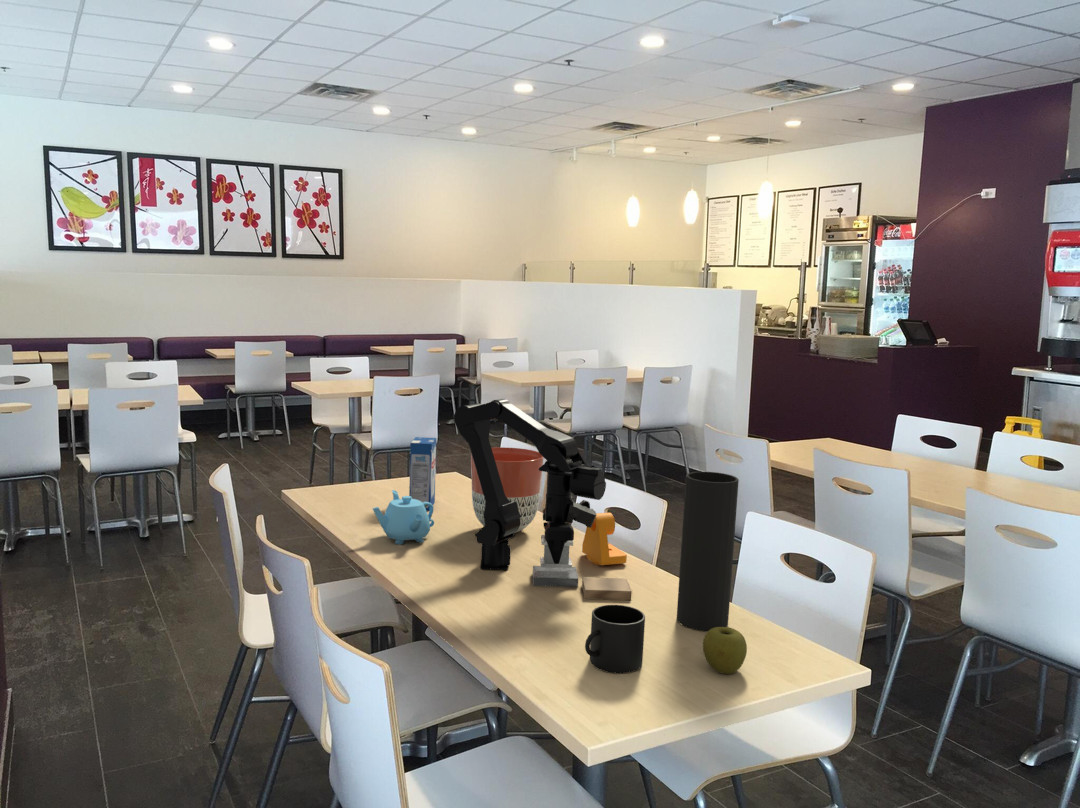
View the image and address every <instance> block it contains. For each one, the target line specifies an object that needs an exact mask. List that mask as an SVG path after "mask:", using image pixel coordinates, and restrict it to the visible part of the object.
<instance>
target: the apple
mask: <svg viewBox="0 0 1080 808" xmlns="http://www.w3.org/2000/svg"><path fill="white" fill-rule="evenodd" d="M702 640H703V641H702V651H703V655H704V658H705V660H706V663H708V665H709V666H710V667H711V668H712V669H713V670H714V671H716V672H717V673H719V674H724V675H731V674H735V673H736V672H738V670H740V668H741V667H742V665H743V664H744V662H745V659H746V657H747V650H748V647H747V645H748V644H747V640H746V638H745V637H744V635H743V633H741V632H740V631H738V630H737V629H735V628H732V627H729V626H727V627H715V628H712V629H710V630H709V631H706V633H705V635H704V636H703V639H702Z"/></svg>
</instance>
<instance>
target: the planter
mask: <svg viewBox="0 0 1080 808" xmlns="http://www.w3.org/2000/svg"><path fill="white" fill-rule="evenodd" d="M491 448H492V452H493V455H494V459H495V462H496V465H497V469H498V472H499V476H500V479H501V482H502V486H503V489H504V493H505V496H506V497H507V498H508V499H509V501H510V502H514V501H516V502H517V504H518V510H519V513H520V515H521V516H522V517H521V518H520V522H521V523H520V526H519V529H518V530H517V531H516V532H515V534H517V533H519V532H521V531H523V530H524V529H526V528H527V527H528V526H529V525H530V524H531V523H532V522H533V521H534V519H535V517H536V515H537V512H538V508H539V505H540V498H541V489H542V479H543V478H542V477H543V471H539V468H540V467H541V466H542V465H544V459H545V458H544V457H543V456H542V455H541V454H540V453H539V452H538V450H537V451H536V450H533V449H529V448H528V449H527V448H522V447H521V448H519V447H505V446H504V447H491ZM470 471H471V476H470V477H471V479H470V480H471V499H472V501H471V502H472V508H473V511H474V515H475V517H476V518H477V520H478V522H479V523H480V525H482V526H483V527H484V526H485V523H484V509H485V498H484V495H483V491H482V488H481V484H480V481H479V478H478V474H477V471H476V467H475V464H474V460H473V457H472V454H471V453H470Z"/></svg>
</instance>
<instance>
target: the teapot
mask: <svg viewBox="0 0 1080 808" xmlns="http://www.w3.org/2000/svg"><path fill="white" fill-rule="evenodd" d="M391 492H392V496H393V497H392V500H390V501H389V503H388V504H387V505H388V506H387V507H386V509H385V511H384V513H383V512H382V511H381V509H380V508H379V507H378V506H377V507H372V511H373V512H374V514H375V516H376V518H377V520H378V523H379V524H380V526H381V528H382V529H383V533H384V534H385V535H386V536H387V538H388V539H391V540H395V542H394V544H395V545H399V546H401V545H404V544H405V541H410V540H414V541H415V542H416V543H423V542H425V540H424V538H426V537H427V536H428V535H429V532H430V531H431V527H433V526H434V524H435V520H433V518H432V517H433V514H434V505H432V504H431V503H429V502H423V503H422V502H421V501H419V500H416V499H412V497H411V496H409V495H404V496H401V498H400V496H399V493H398V491H397V490H395V489H393V490H391ZM424 505H429V506H430V510H429V511H426V509H425V506H424Z"/></svg>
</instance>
